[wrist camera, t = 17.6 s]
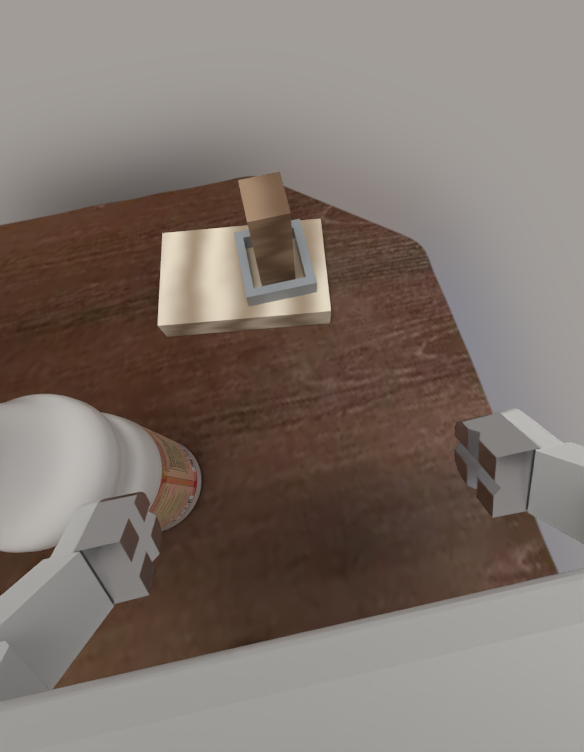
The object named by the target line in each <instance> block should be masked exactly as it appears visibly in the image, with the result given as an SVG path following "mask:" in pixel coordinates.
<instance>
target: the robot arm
mask: <svg viewBox="0 0 584 752" xmlns="http://www.w3.org/2000/svg"><path fill="white" fill-rule="evenodd" d="M455 436H456V438H457V439H458V440H459V441H460V442H459V444H458V445H457V447H456V448H455V462H456V465H457V469H458V471H459V473H460V475H461V477H462V479H463V480H464V481H465V483H466V484H467V485H469V486H471V487H473V488H475V489H477V499H478V500H479V501H480V502H481V504H482V505H483V506H484V508H485V509H486V510H487V511H488V513H489V514H490V515H491V516H492V518H493V517H498V516H503V515H508V514H513V513H518V512H523V511H528V513H529V514H531V515H533V516H535V517H537V518H538V519H540V520H542V521H544V522H545V523H547V524H549V525H551V526H553V527H554V528H556V529H558V530H560V531H561V532H563V533H565V534H567V535H569V536H570V537H572V538H574V539H576V540H578V541H579V542H581V543H583V544H584V446H581V445H577V444H574V443H571V442H569V443H562V442H561V441H560V440H558V439H557V438H556V437H554V436H553V435H552V434H551V433H549V432H548V431H547V430H545V429H544V428H543V427H541V426H540V425H539V424H537V423H536V422H535V421H534V420H532V419H531V418H530V417H528V416H527V415H526V414H524V413H523V412H522V411H521V410H519V409H515V408H513V409H509V410H505V411H501V412H497V413H495V414H491V415H486V416H482V417H477V418H473V419H468V420H464V421H460V422H457V423H456V426H455ZM149 505H150V501H149V499H148V498H147V496H146V494H145V493H143V492H136V493H131V494H126V495H121V496H116V497H111V498H106V499H102V500H97V501H92V502H87V503H83V504H82V505H80V506H79V507H78V508H77V510H76V511H75V513H74V515H73V517H72V519H71V521H70V522H69V524H68V526H67V528H66V530H65V531H64V533H63V535H62V537H61V539H60V541H59V542H58V544H57V546H56V548H55V550H54V551H53V553H52V555H51V557H50V558H48V559H44V560H42V561H41V562H40V563H39V564H38V565H36V566H35V567H34V568H33V569H32V570H30V571H29V572H28V573H27V574H26V575H25V576H23V577H22V578H21V579H20V580H19V581H18V582H16V583H15V584H14V585H13V586H12V587H10V588H9V589H8V590H7V591H6V592H5V593H3V594H2V595H1V596H0V752H584V568H582V569H577V570H573V571H568V572H565V573H560V574H555V575H551V576H546V577H542V578H538V579H533V580H529V581H525V582H520V583H516V584H511V585H507V586H503V587H498V588H494V589H490V590H485V591H481V592H477V593H472V594H468V595H464V596H459V597H455V598H451V599H446V600H442V601H438V602H433V603H429V604H425V605H420V606H416V607H411V608H407V609H403V610H398V611H394V612H390V613H385V614H381V615H377V616H372V617H368V618H363V619H359V620H355V621H350V622H346V623H342V624H337V625H333V626H328V627H324V628H320V629H315V630H311V631H307V632H302V633H298V634H293V635H289V636H285V637H280V638H276V639H272V640H267V641H263V642H258V643H254V644H250V645H245V646H241V647H237V648H232V649H228V650H223V651H219V652H215V653H210V654H206V655H202V656H197V657H193V658H189V659H184V660H180V661H175V662H171V663H167V664H162V665H158V666H154V667H149V668H145V669H141V670H136V671H132V672H127V673H123V674H119V675H114V676H110V677H106V678H101V679H97V680H93V681H88V682H84V683H79V684H75V685H71V686H66V687H62V688H58V689H53V688H54V686H55V685H56V684H57V682H58V681H59V680H60V678H61V677H62V676H63V674H64V673H65V671H66V670H67V669H68V667H69V666H70V665H71V663H72V662H73V661H74V659H75V658H76V657H77V655H78V654H79V653H80V651H81V650H82V649H83V647H84V646H85V645H86V643H87V642H88V640H89V639H90V638H91V636H92V635H93V634H94V632H95V631H96V630H97V628H98V627H99V626H100V624H101V623H102V622H103V620H104V619H105V618H106V616H107V615H108V614H109V612H110V611H111V609H112V608H113V607H114V605H113V604H116V603H120V602H124V601H128V600H132V599H136V598H140V597H143V596H147V595H149V594H150V590H151V586H152V582H153V578H154V574H155V570H156V569H155V567H154V565H153V563H152V562H153V561H154V559H155V558H156V557H157V556H158V555H159V554H160V549H161V545H162V531H161V526H160V523H159V520H158V518H157V516H156V515H154V514H153V513H151V512H149V511H148V509H149ZM52 689H53V690H52Z"/></svg>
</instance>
